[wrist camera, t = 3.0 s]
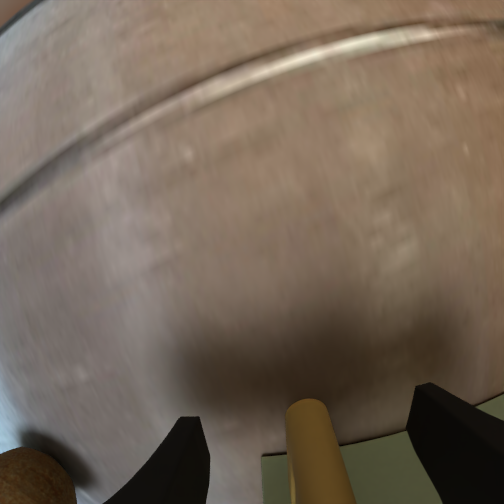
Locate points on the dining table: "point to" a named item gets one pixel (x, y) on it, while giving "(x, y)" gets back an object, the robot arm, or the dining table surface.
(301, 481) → the cupboard door
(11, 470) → the fruit
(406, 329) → the dining table surface
